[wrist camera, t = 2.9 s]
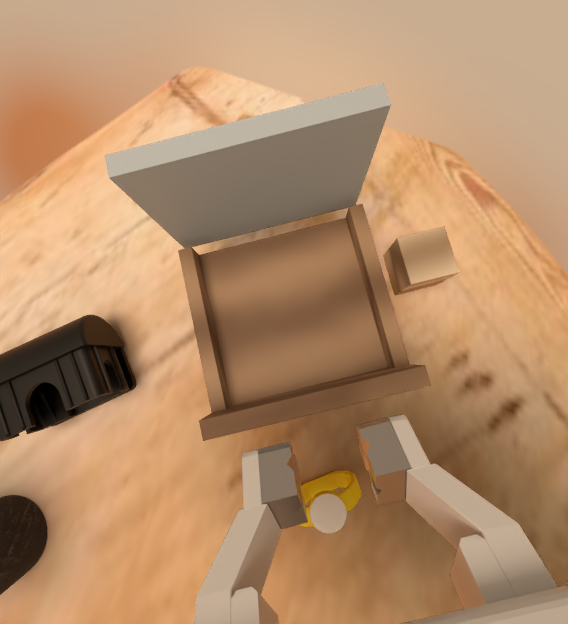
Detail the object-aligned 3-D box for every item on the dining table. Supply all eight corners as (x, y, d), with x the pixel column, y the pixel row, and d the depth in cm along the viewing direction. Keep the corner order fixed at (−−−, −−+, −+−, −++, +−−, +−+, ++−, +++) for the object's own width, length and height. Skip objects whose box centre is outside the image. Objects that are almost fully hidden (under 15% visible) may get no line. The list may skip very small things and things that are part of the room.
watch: (344, 456, 31) (360, 477, 25) (357, 486, 31) (375, 514, 25) (283, 483, 31) (285, 510, 25) (295, 513, 31) (299, 548, 25)
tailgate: (355, 205, 27) (391, 104, 16) (185, 248, 28) (108, 177, 17) (349, 185, 28) (380, 72, 17) (180, 227, 28) (102, 144, 17)
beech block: (435, 285, 33) (459, 272, 28) (394, 295, 33) (411, 284, 28) (423, 246, 33) (444, 226, 28) (382, 256, 33) (397, 238, 28)
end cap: (117, 318, 34) (72, 308, 27) (143, 385, 33) (102, 392, 26) (24, 361, 34) (-44, 362, 27) (47, 429, 33) (-18, 447, 26)
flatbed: (395, 372, 32) (447, 381, 20) (227, 413, 32) (187, 444, 21) (356, 239, 34) (385, 179, 22) (199, 279, 34) (147, 240, 22)
